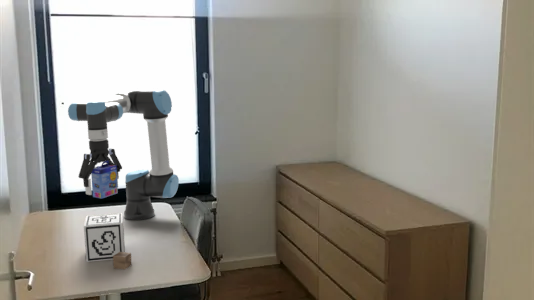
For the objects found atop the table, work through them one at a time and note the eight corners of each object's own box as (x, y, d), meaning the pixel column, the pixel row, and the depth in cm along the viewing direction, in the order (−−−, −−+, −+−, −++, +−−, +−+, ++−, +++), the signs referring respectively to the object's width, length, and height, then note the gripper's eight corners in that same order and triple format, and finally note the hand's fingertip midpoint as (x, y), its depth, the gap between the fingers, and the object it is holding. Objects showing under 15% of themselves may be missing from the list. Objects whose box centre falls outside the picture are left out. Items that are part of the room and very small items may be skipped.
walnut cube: (120, 263, 233) (119, 251, 232) (131, 264, 231) (130, 252, 231) (113, 268, 228) (112, 256, 227) (125, 269, 227) (124, 257, 226)
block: (86, 262, 235) (83, 226, 233) (88, 249, 250) (86, 215, 247) (124, 258, 239) (122, 222, 236) (124, 246, 253) (122, 212, 250)
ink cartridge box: (102, 199, 236) (99, 164, 233) (92, 197, 238) (89, 162, 236) (119, 193, 244) (116, 159, 242) (109, 191, 247) (106, 158, 244)
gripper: (78, 145, 224) (83, 199, 228) (128, 135, 244) (131, 185, 248) (66, 143, 228) (71, 196, 232) (116, 134, 248) (119, 183, 252)
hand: (102, 190), depth 240 cm, fingers open, 13 cm apart
